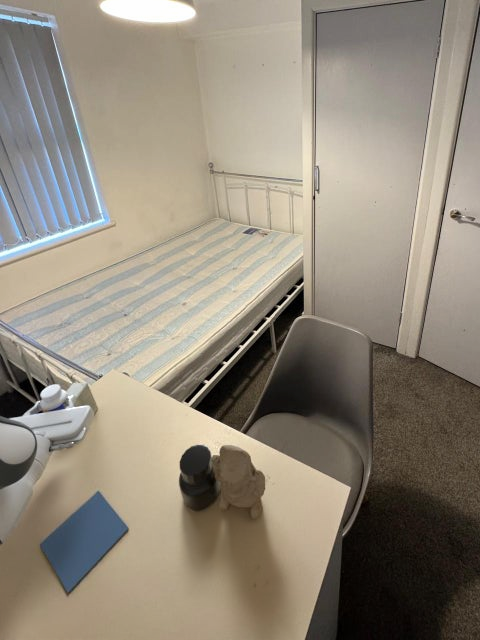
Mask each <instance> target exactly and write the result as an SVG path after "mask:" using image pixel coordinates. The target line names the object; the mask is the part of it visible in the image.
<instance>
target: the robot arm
mask: <svg viewBox="0 0 480 640" xmlns="http://www.w3.org/2000/svg"><path fill="white" fill-rule="evenodd" d="M75 401H76V397H75V395H74V396H68V397H67V399H66V400H65V403H66V405H67V407H66V409H63V410H57V411H51V412H45V413H44V412H43V410H42V408H41V406H40V403H41V400H37V401H36V402H35V404H34V405H33V406H32V407H31V408H29V409H28V410H27V411H26V412H25V413H24V414H23V415H21V416H17V417H9V418H7V417H4V416H2V415H0V546H1V545H3V544H4V543H5V542H6V541H7V539H8V538H9V537H10V536H11V535H12V532H14V530H15V528H16V526H17V524H19V522H20V520H21V518H22V516H23V514H24V512H25V510H26V508H27V506H28V505H29V503H30V500H31V499H32V496H33V493H34V488H35V486H36V483H37V482H38V481H39V480H40V479H41V477H42V475H43V473H44V471H45V469H46V467H47V465H48V463H49V461H50V459H51V457H52V455H53V453H54V452H55V451H56V452H57V451H61V450H63V449H71V448H74V447H75V446H76V445H79V444H80V443H81V442H82V441H83V440H84V439H85V436H86V434H87V432H88V430H89V429H90V426H91V425H92V422H93V421H94V418H95V414H94V413H93V410H92V408H91V407H90V406H89V405H87V406H81V407H74V403H75ZM39 412H41V413H39Z"/></svg>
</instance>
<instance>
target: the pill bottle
mask: <svg viewBox="0 0 480 640" xmlns="http://www.w3.org/2000/svg"><path fill="white" fill-rule="evenodd" d="M66 391H67V390H65V389H62V387H61V385H60V384H57V383H56V384H50V385H48V386H46V387H45V388H44V389H43V390H42V391H41V392H40V394H39V397H40V399H41V400H40V401H41V403H40V406H41V408H42V410H43V411H42V413H45V412H51V411H57V410H63V409H66V407H67V405H66V403H65V400H66V399H67V397H68V394H67V392H66Z"/></svg>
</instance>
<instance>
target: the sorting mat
mask: <svg viewBox="0 0 480 640" xmlns="http://www.w3.org/2000/svg"><path fill="white" fill-rule="evenodd" d="M129 530H130V528H129V527H128V525H127V524H126V523H125V522H124V520H123V519H122V518H121V516H119V514H118V513H117V511H116V510H115V509H114V507H112V506H111V504H110V503H109V502H108V501H107V499H106V498H105V497H104V496H103V494H102V493H101V492H100V491H99V490H97V491H96V492H95V493H94V494H93V495H92V496H90V498H88V499H87V500H86V501H85V502H84V503H83V504H82V505H81V506H80V507H79V508H78V509H77V510H75V512H73V513H72V514H71V515H70V516H69V517H68V518H67V519H65V520H64V521H63V522H62V523H61V524H60V525H59V526H58V527H56V528H55V530H53V531H52V532H51V533H50V534H49V535H47V537H46V538H45V539H43V540H42V541H41V542H40V543H39V546H40V548H41V550H42V551H43V553H44V555H45V556H46V558H47V560H48V562H49V563H50V565H51V567H52V568H53V571H54V572H55V573H56V575H57V577H58V578H59V581H60V582H61V585H62V586H63V587H64V589H65V591H66V593H67V594H70V593H71V592H72V591H73V590H74V589H75V588H76V586H77V585H78V584H79V583H80V582H81V581H82V580H83V579H84V578H85V577H86V576H87V575H88V573H90V572H91V570H92V569H93V568H94V567H95V566H96V565H97V564H98V563H99V562H100V561H101V560H102V559H103V558H104V556H105V555H106V554H108V552H110V550H111V549H112V548H113V547H114V546H115V545H116V544H117V542H118V541H119V540H121V538H122V537H123V536H124V535H125V534H126V533H127V532H128V531H129Z"/></svg>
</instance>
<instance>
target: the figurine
mask: <svg viewBox="0 0 480 640" xmlns="http://www.w3.org/2000/svg"><path fill="white" fill-rule="evenodd" d="M211 457H212V462H213V472H214V473H215V479H216V480H217V481H219V482H221V483H220V489H221V490H220V497H219V501H218V505H219V509H220V510H223V511H227V510H228V509H229V508H230V506H234V507H237V508H245V509H246V508H249V515H250V517H251V518H252V519H254V520H259V518H260V517H261V516H262V511H263V503H262V497H263V496H264V494H265V491H266V476H265V474H264V473H263V471H262V470H259V469H257V468H256V467H255V465H254V464H253V462H252V458H251V455H250V454H249V452H247V451H246V450H245V449H243V448H242V447H239V446H236V445H233V444H223V445H221V446H220V448H219V453H218V454H213V455H211Z"/></svg>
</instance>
